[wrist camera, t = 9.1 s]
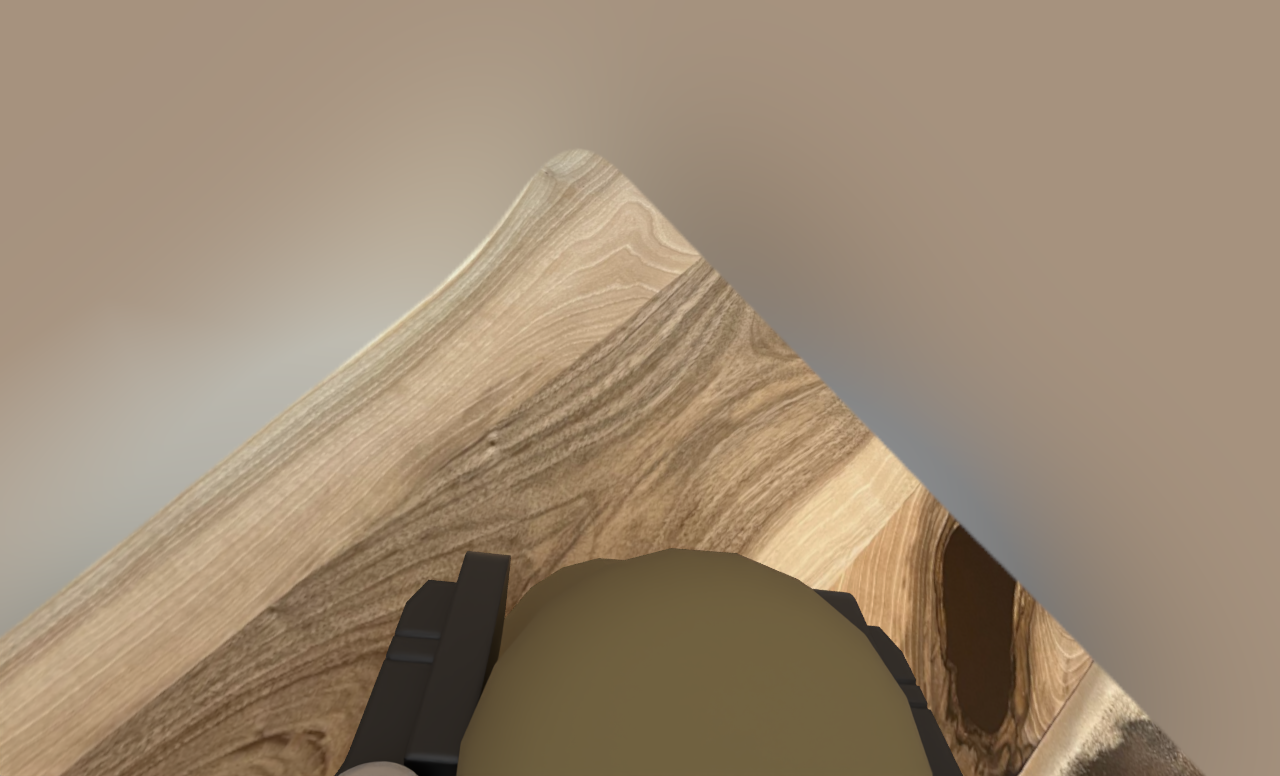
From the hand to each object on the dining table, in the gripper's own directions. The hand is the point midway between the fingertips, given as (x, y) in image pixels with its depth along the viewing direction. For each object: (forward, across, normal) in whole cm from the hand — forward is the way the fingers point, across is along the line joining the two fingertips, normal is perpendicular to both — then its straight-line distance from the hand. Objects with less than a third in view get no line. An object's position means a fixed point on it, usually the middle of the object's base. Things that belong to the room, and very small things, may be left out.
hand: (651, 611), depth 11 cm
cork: (+3, 0, +5) cm, 6 cm away
